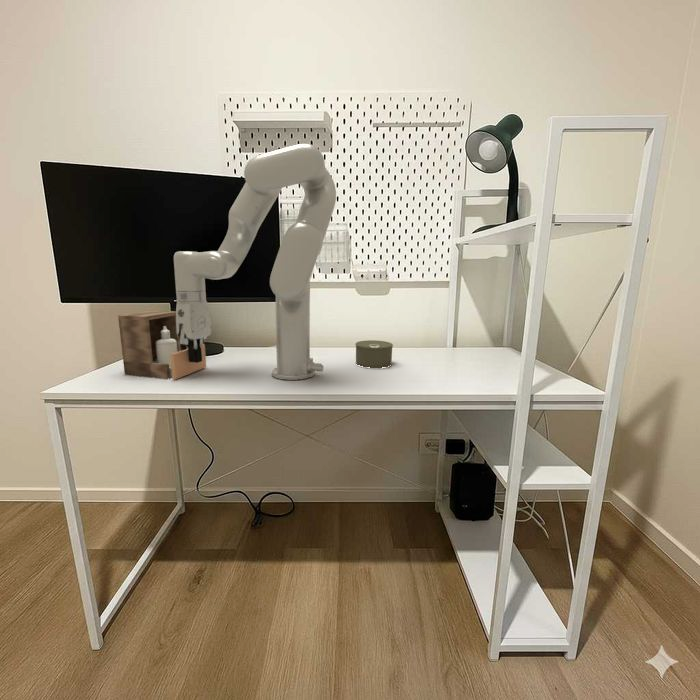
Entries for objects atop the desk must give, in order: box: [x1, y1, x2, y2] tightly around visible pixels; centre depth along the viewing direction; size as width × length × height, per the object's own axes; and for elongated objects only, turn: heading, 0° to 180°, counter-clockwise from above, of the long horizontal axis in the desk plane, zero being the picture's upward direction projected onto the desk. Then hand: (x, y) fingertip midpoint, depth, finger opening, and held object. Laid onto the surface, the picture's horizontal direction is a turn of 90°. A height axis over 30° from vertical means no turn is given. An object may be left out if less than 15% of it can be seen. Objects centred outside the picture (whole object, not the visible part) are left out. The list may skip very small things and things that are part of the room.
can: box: [355, 340, 394, 368], centre depth 126 cm, size 12×12×7 cm
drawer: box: [153, 343, 207, 380], centre depth 114 cm, size 14×14×7 cm
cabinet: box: [117, 309, 182, 380], centre depth 114 cm, size 14×13×17 cm
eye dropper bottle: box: [156, 326, 178, 367], centre depth 113 cm, size 4×6×12 cm
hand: (195, 361), depth 112 cm, fingers closed
